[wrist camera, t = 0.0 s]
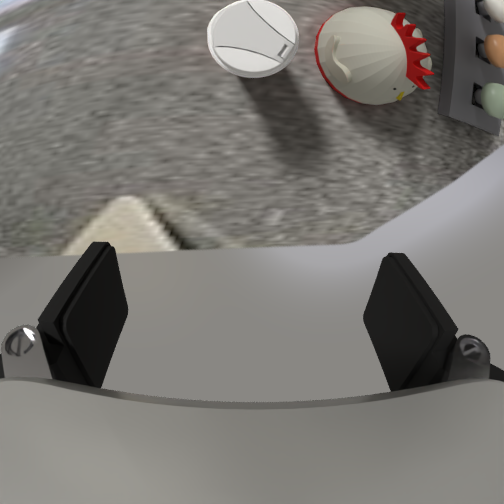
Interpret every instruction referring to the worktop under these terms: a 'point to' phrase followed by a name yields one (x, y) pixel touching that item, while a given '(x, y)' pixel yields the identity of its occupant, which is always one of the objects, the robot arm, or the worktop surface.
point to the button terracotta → (493, 50)
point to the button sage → (491, 99)
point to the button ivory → (492, 9)
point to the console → (467, 64)
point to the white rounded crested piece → (372, 55)
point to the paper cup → (253, 38)
